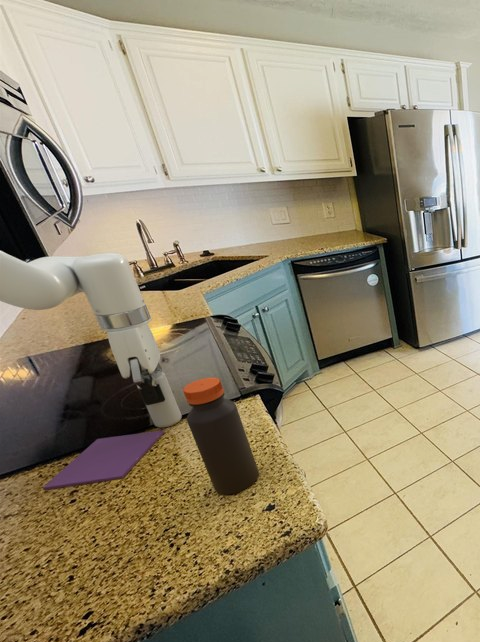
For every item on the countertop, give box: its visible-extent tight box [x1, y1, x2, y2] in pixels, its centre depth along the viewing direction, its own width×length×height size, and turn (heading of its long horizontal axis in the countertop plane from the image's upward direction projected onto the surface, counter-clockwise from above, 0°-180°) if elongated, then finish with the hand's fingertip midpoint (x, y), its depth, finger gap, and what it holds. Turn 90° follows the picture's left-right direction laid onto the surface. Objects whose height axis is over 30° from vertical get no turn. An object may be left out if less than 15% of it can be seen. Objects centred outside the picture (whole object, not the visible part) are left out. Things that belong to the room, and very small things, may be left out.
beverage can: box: [139, 369, 183, 428], centre depth 87 cm, size 5×5×12 cm
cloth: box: [42, 430, 165, 491], centre depth 79 cm, size 12×14×1 cm
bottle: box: [182, 377, 260, 496], centre depth 69 cm, size 7×7×20 cm
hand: (158, 395), depth 87 cm, fingers closed on beverage can, 4 cm apart
